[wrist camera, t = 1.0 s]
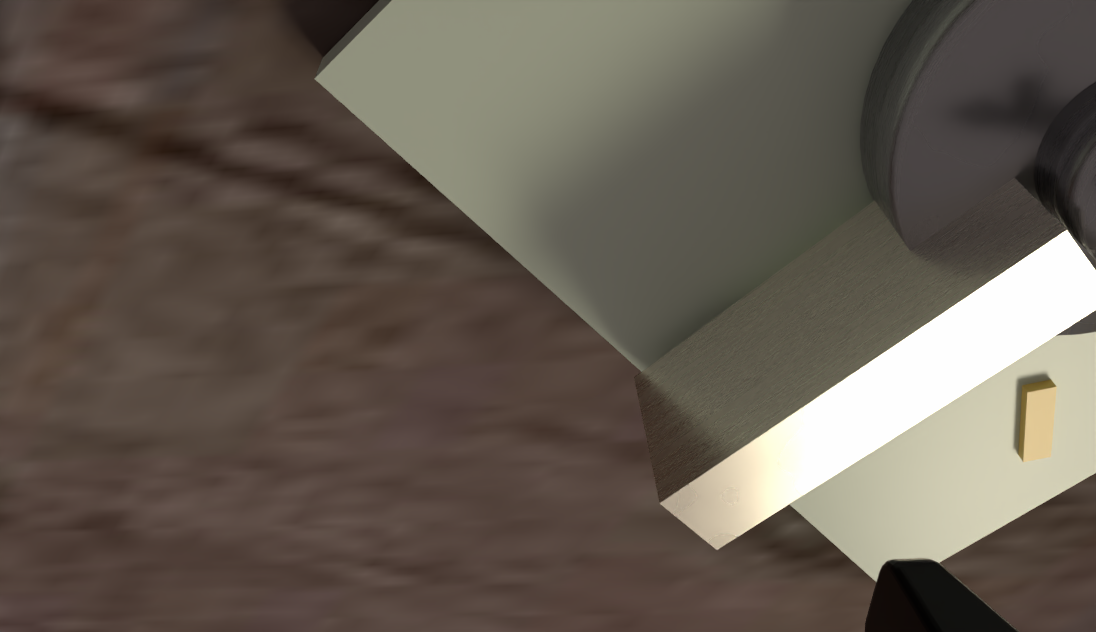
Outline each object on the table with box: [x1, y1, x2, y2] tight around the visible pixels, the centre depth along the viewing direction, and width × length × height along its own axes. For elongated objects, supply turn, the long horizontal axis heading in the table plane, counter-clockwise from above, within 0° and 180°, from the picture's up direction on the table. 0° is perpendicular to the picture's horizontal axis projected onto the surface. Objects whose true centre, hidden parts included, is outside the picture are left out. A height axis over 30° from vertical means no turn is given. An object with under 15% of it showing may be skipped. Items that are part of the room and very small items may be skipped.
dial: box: [634, 0, 1096, 550], centre depth 17 cm, size 12×7×4 cm, turn 132°
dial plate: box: [315, 0, 1096, 582], centre depth 18 cm, size 18×18×1 cm
